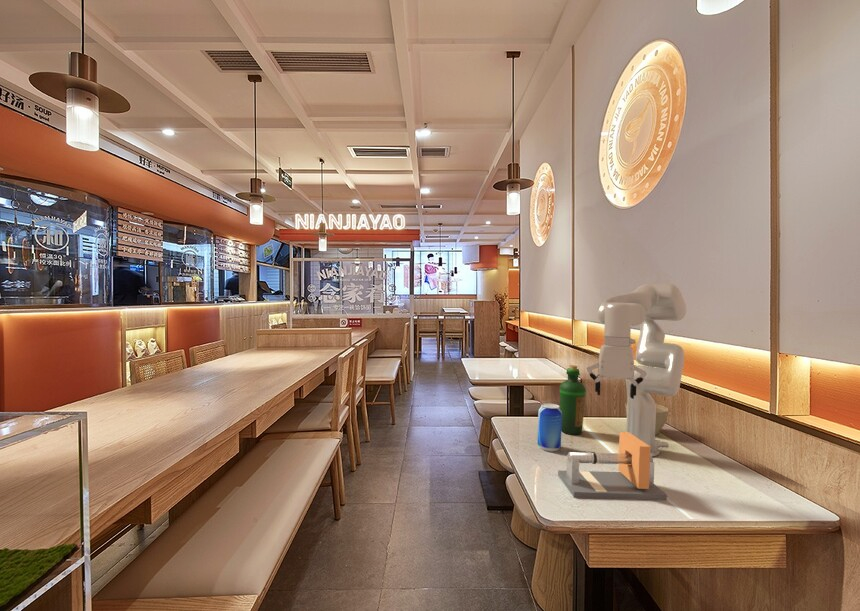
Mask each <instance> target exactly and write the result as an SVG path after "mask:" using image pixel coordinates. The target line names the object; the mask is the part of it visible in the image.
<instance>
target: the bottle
mask: <svg viewBox="0 0 860 611" xmlns="http://www.w3.org/2000/svg"><path fill="white" fill-rule="evenodd" d="M565 374H566V375H567V380H564V381H562V382H561V384H560V385H559V408H560V410H561V412H562V427H561V433H564V434H567V435H573V436H578V435H580V434H582V433H583V425H584V415H585V404H586V394H587V393H586V392H587V389H586V387H585V385H584V383H582V382H581V381H579V376H581V373H580V369H579V368H578V365H574V364H573V365H572V364H571V365H568V368H567V369H566V373H565Z"/></svg>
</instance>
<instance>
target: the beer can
mask: <svg viewBox="0 0 860 611" xmlns="http://www.w3.org/2000/svg"><path fill="white" fill-rule="evenodd" d="M537 416H538V417H537V446H539V449H540V450H543V451H545V452H553V451H554V452H558V451H559V450H560V448H561V447H562V431H561V427H562V412H561V410H560V404H559V405H558V404H556V403H550V402H544V403H541V406H540V408H538V415H537Z"/></svg>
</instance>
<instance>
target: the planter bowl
mask: <svg viewBox="0 0 860 611" xmlns="http://www.w3.org/2000/svg"><path fill="white" fill-rule="evenodd" d="M655 404H656V403H655ZM624 406H625V413H626V415H627V402H626V403H625V404H624ZM668 414H669V409H668V408H667V407H665V406H664V405H661V404H656V424H655V436H656V435H659V434H660V431H661V429H663V428H664V426H665V425H666V422H667V419H668Z"/></svg>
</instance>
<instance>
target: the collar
mask: <svg viewBox="0 0 860 611" xmlns="http://www.w3.org/2000/svg"><path fill="white" fill-rule="evenodd" d="M618 435H619V441H618V453H625V454H632V464H617V465H618V468H617V470H618V472H621V473H622V474H623V475H624V476H625V477H626V478H627V479H628V480H630V481H631V482H632V483H633V484H634V485H635V486H636V487H637V488H638V489H649V473H650V446H649V445H647V444H646V443H644V442H643V441H641V440H640V439H638V438H637V437H635V436H634V435H632V434H631V433H629V432H626V431H623V432H622V431H620V432H619V434H618Z"/></svg>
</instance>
